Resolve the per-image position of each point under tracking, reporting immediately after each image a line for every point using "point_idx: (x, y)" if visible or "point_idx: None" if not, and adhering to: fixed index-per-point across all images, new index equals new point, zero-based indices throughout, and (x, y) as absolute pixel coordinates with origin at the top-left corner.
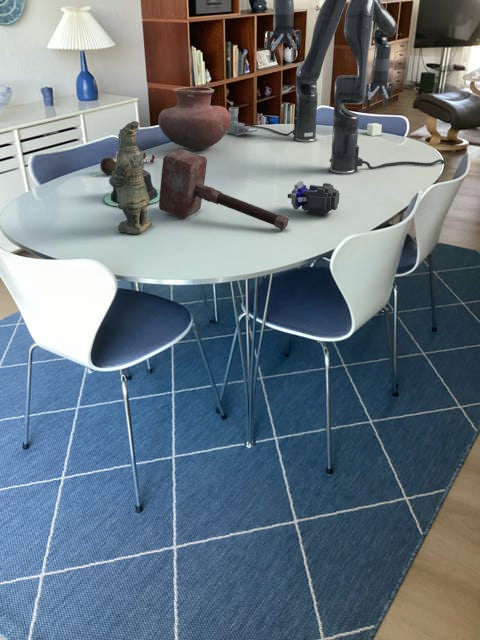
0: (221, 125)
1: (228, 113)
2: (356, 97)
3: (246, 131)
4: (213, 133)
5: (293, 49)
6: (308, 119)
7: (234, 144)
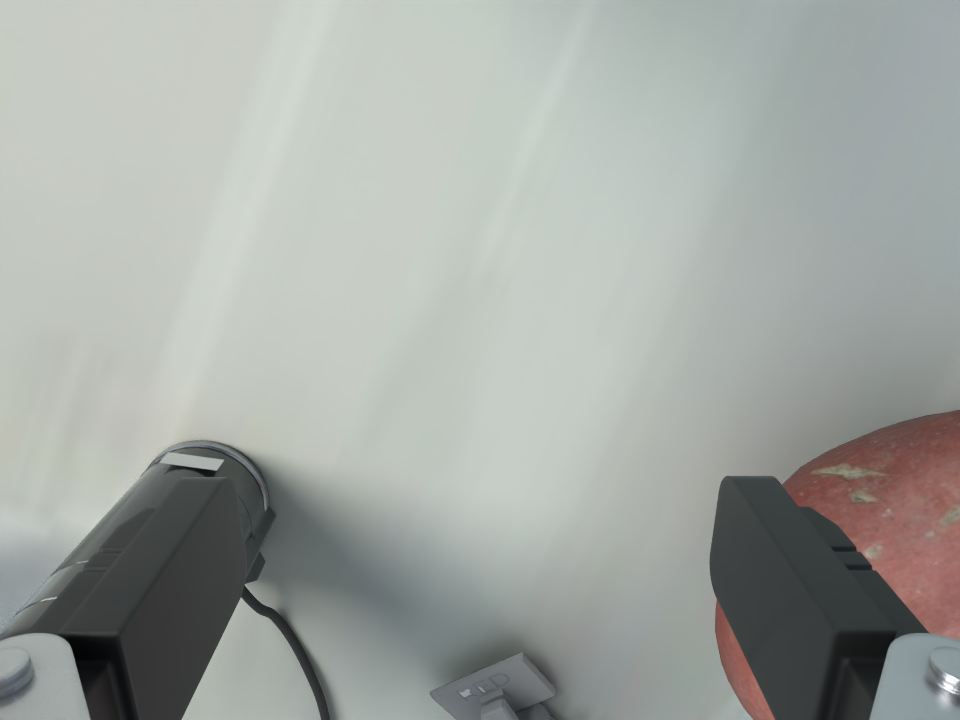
0: (856, 477)
1: None
2: None
3: (501, 691)
4: (914, 422)
5: (104, 684)
6: None
7: (631, 544)
